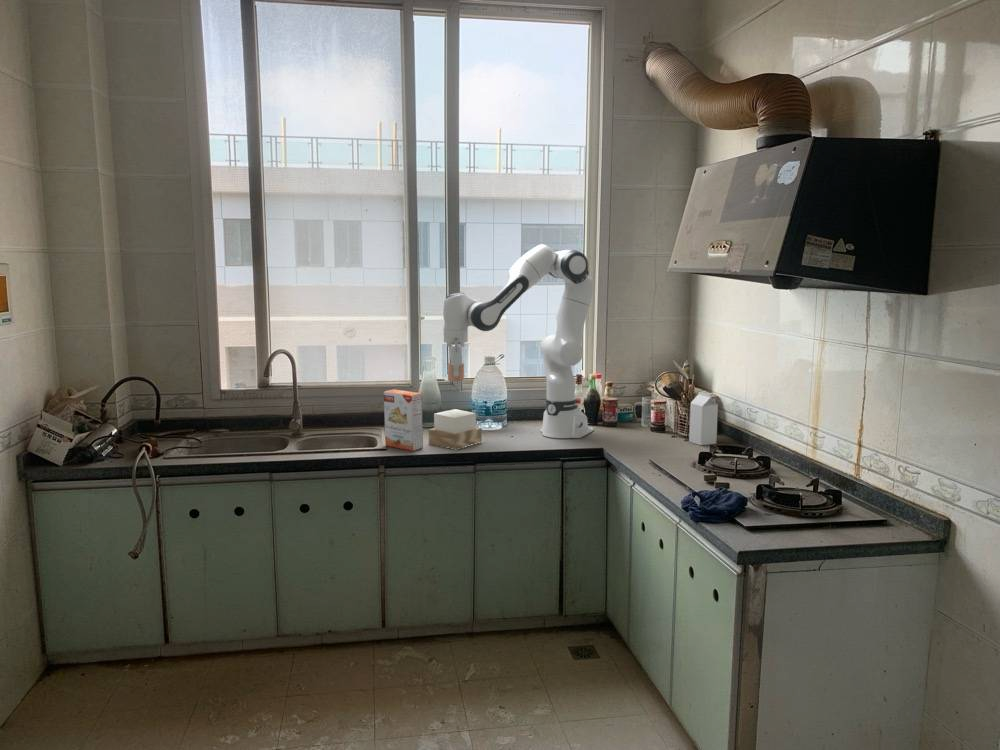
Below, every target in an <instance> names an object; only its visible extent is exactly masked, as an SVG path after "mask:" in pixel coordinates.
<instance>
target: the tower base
mask: <svg viewBox="0 0 1000 750" xmlns="http://www.w3.org/2000/svg"><path fill="white" fill-rule="evenodd" d="M481 441H482V427H477V426H476V429H473V430H469V431H465V432H461V433H457V434H452V433H448V432H444V431H440V430H435V429H434V427H433V428H428V445H431V444H433V445H432V446H435V445H438V446H437V447H440V446H443V447H442V448H444V447H449V448H453V449H458V448H462V447H465V446H468V445H471V444H475V443H478V442H481ZM465 448H466V447H465ZM453 449H452V450H453ZM462 449H463V448H462ZM458 450H459V449H458Z"/></svg>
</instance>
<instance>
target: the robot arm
mask: <svg viewBox="0 0 1000 750" xmlns="http://www.w3.org/2000/svg"><path fill="white" fill-rule="evenodd" d="M548 274H549V275H550V276H552V277H553V278H556V279H560V280H563V281H564V291H563V293H562V298H561V301H560V304H559V306H558V309H557V313H556V318H555V319H556V332H555V333H554V334H550V335H547V336H545V338H543V339H542V341H541V342H540V352H541V354H542V359H543V365H544V372H545V378H546V379H545V380H546V398H545V399H544V401H545V402H544V404H545V410H544V411H543V417H542V427H541V428H540V432H541V435H542V436H544V437H548V438H552V439H580V438H582V437H584V436H586V435H588V434H590V433H591V432H593V431H594V428H593V427H592V426H589V425H588V416H587V415H586V414H585V413H584V412H583V411H581V410H580V409H579V408H578V405H581V403H582V400H581V398H576V397H575V396H576V379H575V376H574V374H573V370H572V366H576V365H578V363H580V362H581V360H582V359H583V356H584V350H583V336H584V328H585V322H586V319H587V316H588V312H589V309H590V305H591V303H592V298H593V294H594V285H595V284H594V280H593V279H592V277H591V276H589V261H588V258H587V257H586V255H585V254H584V253H583V252H581V251H579V250H573V249H564V250H555V251H554V250H553V249H552V248H551V247H549V246H548V244H547V245H546V244H543V243H542V244H538V245H537V246H535V247H533V248H531V249H530V250H528V251H527V252H526V253H524V254H523V255H522V256H520V257H519V259H517V260H516V261H515V263H513V264H512V265H511V267H510V268H509V270H508V274H507V275H508V276H507V277H508V278H507V279H508V281H507V284H506V285H505V286H504V287H503V288H502V289H501V290H500V291H499V292H498V293H497V294H495V296H494V297H493V298H492V299H491V300H488V301H486V302H483V301H481V300H478V299H474V298H472V297H471V296H469V295H467V294H466V293H465V292H454V293H449V294H448V295H446V297H445V298H444V302H443V313H442V314H443V315H442V316H443V321H444V325H443V343H446V344H447V345H446V347H448V349H449V356H450V363H451V364H452V365H453V368H454V376H459V365H461V364H462V362H463V361H462V360H463V359H462V357H463V354H462V351H463V350H462V349H463V347H465V343H468V341H469V338H468V334H469V333H468V332H469V331H468V330H469V328H468V327H474V328H476V329H477V330H479V331H481V332H489V331H492V330H495V328H496V327H497V326H498V324H499V323H500V321H501V319H502V318H503V315H504V314H505V313H506V311H507V310H508V309H509V308H510V307H511V306H512V305H513V304H514V303H515V302H516V301H517V300H519V298H520V297H521V296H522V295H523V294H524V293H526V292H527V291H528V290H529V289H531V288H532V287H533V286H534V285H536V284H537V283H538V282H540V281H541V280H542V279H543V278H544V277H545V276H546V275H548Z"/></svg>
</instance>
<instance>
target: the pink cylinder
mask: <svg viewBox="0 0 1000 750" xmlns="http://www.w3.org/2000/svg"><path fill="white" fill-rule="evenodd" d="M447 381H448V382H463V381H465V363H462V364H461V365H459V376H454V368H453V365H452V364H451V362H449V363H447Z"/></svg>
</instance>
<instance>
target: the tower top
mask: <svg viewBox="0 0 1000 750" xmlns="http://www.w3.org/2000/svg"><path fill="white" fill-rule="evenodd" d="M476 415H477V414H476V412H472V411H467V410H462V409H456V408H454V409H453V408H452V409H450V410H443V411H439V412H436V413H433V425H434V426H433V428H434V429H435V430H440V431H444V432H448V433H452V434H457V433H461V432H465V431H469V430H473V429H476V427H477V416H476Z"/></svg>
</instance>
